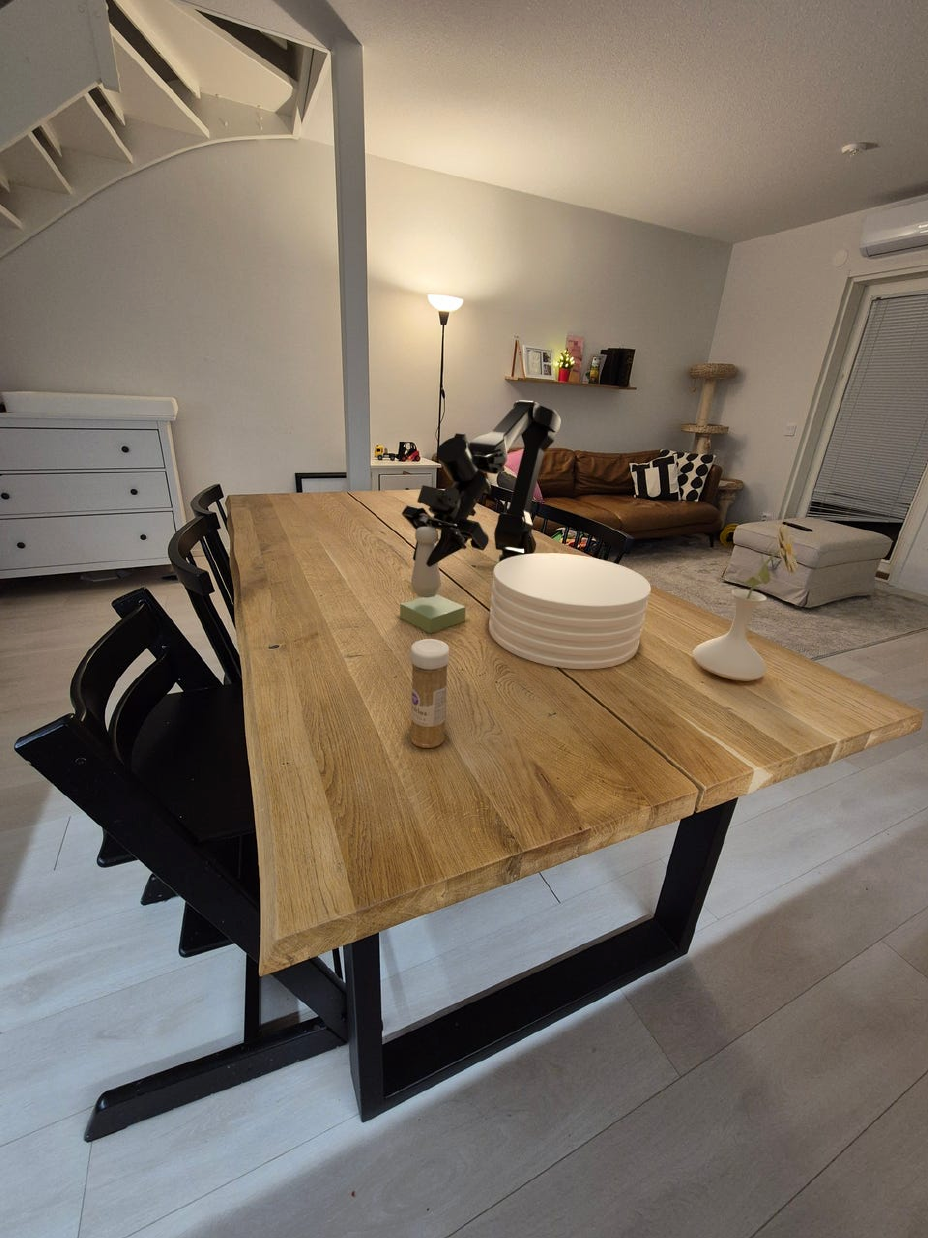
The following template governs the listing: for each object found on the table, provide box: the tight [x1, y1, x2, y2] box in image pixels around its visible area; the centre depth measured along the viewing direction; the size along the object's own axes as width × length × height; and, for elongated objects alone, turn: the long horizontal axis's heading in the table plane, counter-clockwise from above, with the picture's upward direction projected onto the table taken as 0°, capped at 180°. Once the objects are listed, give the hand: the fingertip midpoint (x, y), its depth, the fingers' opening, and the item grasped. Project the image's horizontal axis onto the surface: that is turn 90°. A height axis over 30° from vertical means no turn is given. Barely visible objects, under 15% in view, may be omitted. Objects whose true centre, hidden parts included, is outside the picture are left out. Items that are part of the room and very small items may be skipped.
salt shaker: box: [410, 527, 442, 598], centre depth 95 cm, size 6×6×13 cm
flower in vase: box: [692, 523, 799, 682], centre depth 81 cm, size 13×11×25 cm
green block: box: [399, 593, 467, 634], centre depth 98 cm, size 9×9×3 cm
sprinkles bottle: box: [409, 638, 450, 749], centre depth 62 cm, size 5×5×14 cm
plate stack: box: [488, 552, 652, 670], centre depth 93 cm, size 28×28×12 cm
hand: (421, 562), depth 94 cm, fingers closed on salt shaker, 3 cm apart
